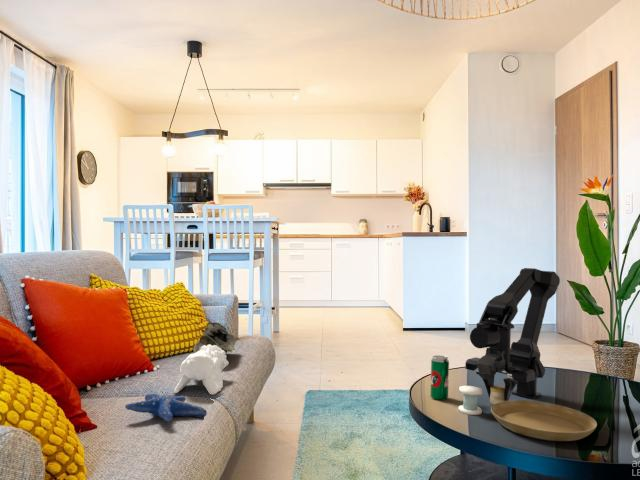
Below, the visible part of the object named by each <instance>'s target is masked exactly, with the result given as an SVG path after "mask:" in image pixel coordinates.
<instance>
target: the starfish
mask: <svg viewBox="0 0 640 480" xmlns="http://www.w3.org/2000/svg"><path fill="white" fill-rule="evenodd" d="M185 400H186V397H185V395H161V394H159V393H148V394H146V395H145V396H144V400H141V401H137V402H132V403H131V402H130V403H127V404H125V405H124V407H125V409H126V410H130V411H133V412H136V413H141V414H142V413H144V414H145V413H149V414H153V415H154V416H157V417H159V418H160V419H162V420H164V421H165V422H170V421H171V420H172V419H173V417H175V416H176V417H178V416H179V417H195V418H204V417H206V416H207V414H208V413H207V410H206V409H205V408H204V407H203V406H199V405H195V404H191V403H189V402H185Z"/></svg>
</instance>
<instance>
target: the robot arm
mask: <svg viewBox="0 0 640 480" xmlns="http://www.w3.org/2000/svg"><path fill="white" fill-rule="evenodd" d="M560 283H561V279H560V276H559V275H558V273H556V272H555V271H554V270H553V271H550V270H540V269H538V268H534V267H533V268H531V267H530V268H529V267H524V268H521V269H520V271H519V274H518V275H517V276H516V277H515V279H514V280H513V282H511V284H510V285H509V286H508V287H507V289H506V290H504V292H503V293H501V294H498V295H496V296H494V297H492V298H491V299H490V300H489V301H488V302H487V303H486V305H485V308H484V310H483V312H482V314H481V316H480V318H479V321H478V322H476V327H475V328H473V329H471V332H470V334H469V340H470V343H471V344H472V346H474V347H475V348H476V349H485V348H486V350H485V355H483V356H481V357H471V358H467V360H465V363H464V365H465V366H464V368H465V370H468V371H469V370H470V371H474V372H475V374H476V375H479V377H480V378H481V379H482V381H483V383H484V386H485V390H486V392H487V395H488V398H489V399H490V387H491V386H495V384H494V383H495V376H496V374H497V373H498V374H499V373H500V374H504V375H507V377H506V378H503V380H502V381H503V382H504V387H505V393H504V400H505V401H510V400H509V399H510V397H511V395H515V396H521V397H525V398H528V399H535V398H537V397H540V396H542V393H541V392H538V379H539V378H540V379H542V378H544V376H545V372H546V368H545V367H544V365H543V362H542V361H541V352H540V349H539V347H538V342H539V337H540V334H541V329H542V326H543V320H544V317H545V313H546V310H547V309H546V308H547V305H548V302H549V300H550V299H551V298H552V297H553V296H555V294H556V293H557V290H558V287H559V285H560ZM528 292H530V300H529V303H528V306H527V311H526V315H525V319H524V322H523V323H524V324H523V327H522V330H521V335H520V338H519V339H518V340H517V341H513V342H511V336H512V335H511V333H512V332H511V331H512V329H515V325H514V324H513V323H512V321H513V320H514V319H515V317H516V316H517V313H518V312H519V310H518V309H519V308H518V305H519V304H520V302H521V301H522V300H523V298H524V297H525V296H526V295H527V293H528ZM475 370H476V371H475ZM515 388H516V389H515ZM514 389H515V390H514Z"/></svg>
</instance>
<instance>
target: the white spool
mask: <svg viewBox="0 0 640 480" xmlns="http://www.w3.org/2000/svg"><path fill="white" fill-rule="evenodd" d="M458 392H459V393H461V394H463V403H462V404H461V405H458V412H460V413H461V414H464V415H469V416H480V415H481V414H482V413H483V412H482V411H483V409H482V408H481V407H480V406H478V397H479V396H481V395H483V389H482V388H481V387H477V386H473V385H462V386H459V388H458Z"/></svg>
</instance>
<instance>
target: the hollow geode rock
mask: <svg viewBox="0 0 640 480" xmlns="http://www.w3.org/2000/svg"><path fill="white" fill-rule="evenodd" d="M200 331H201V333H202V334H203V335H202V336H200V337H199V340H198V341H197V342H196V343H195V344H194V347H193V354H194V353H196V352H197V351H200V349H201V347H202V346H203V345H205V346H207V345H209V344H210V345H212V346H213V345H217V346H218V347H219V348H221V349H222V351H223V350H224V351H225V355H226V356H227V353H228V352H230V353H231V352H233V351H234V350H235V345H236V342H237V341H238V340H237V337H235V336H234V335H232V334H231V333H229V332H228V331H227V328H226V327H225V326H223V325H222V324H220V323H219V322H210V321H209V322H207V323H206V327H205V329H201V330H200ZM235 351H236V350H235Z"/></svg>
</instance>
